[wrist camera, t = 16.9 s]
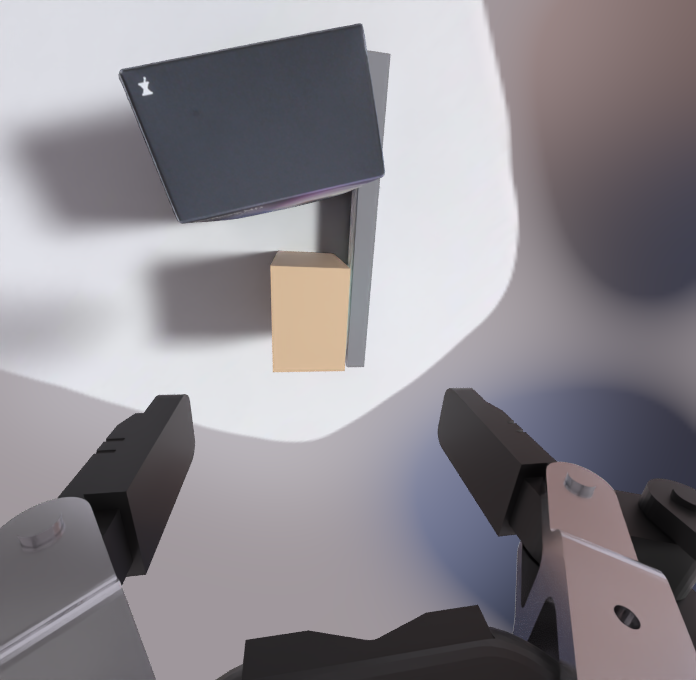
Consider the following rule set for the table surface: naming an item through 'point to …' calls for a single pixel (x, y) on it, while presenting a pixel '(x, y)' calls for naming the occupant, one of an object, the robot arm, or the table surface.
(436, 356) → the table surface
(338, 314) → the kraft carton
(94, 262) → the table surface
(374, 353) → the table surface
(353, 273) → the rail
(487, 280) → the table surface
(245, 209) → the small box
